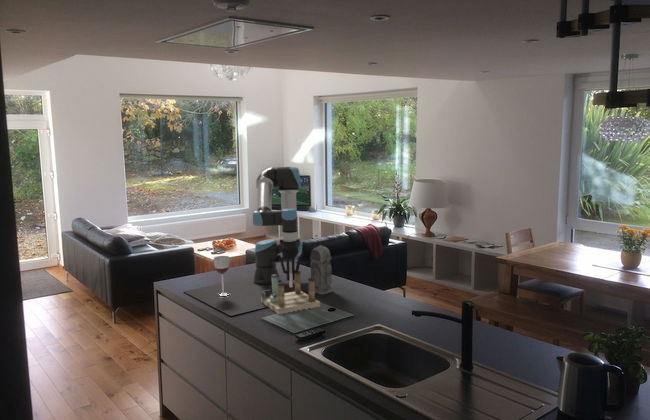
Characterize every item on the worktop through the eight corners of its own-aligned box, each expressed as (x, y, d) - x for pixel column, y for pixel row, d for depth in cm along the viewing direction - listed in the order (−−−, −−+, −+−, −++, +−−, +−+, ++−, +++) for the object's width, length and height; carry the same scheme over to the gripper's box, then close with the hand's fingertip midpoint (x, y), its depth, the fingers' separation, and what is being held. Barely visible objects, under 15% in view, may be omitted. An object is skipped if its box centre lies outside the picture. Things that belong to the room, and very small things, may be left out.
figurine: (323, 295, 282) (323, 248, 279) (306, 290, 293) (305, 244, 289) (337, 292, 289) (337, 245, 285) (320, 286, 299) (319, 241, 296)
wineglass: (232, 292, 290) (231, 255, 287) (228, 297, 282) (226, 259, 279) (218, 292, 291) (216, 255, 288) (213, 297, 282) (211, 259, 280)
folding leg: (279, 302, 263) (278, 280, 262) (270, 302, 263) (269, 280, 261) (279, 295, 275) (279, 274, 273) (271, 295, 275) (270, 274, 273)
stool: (261, 301, 274) (260, 275, 272) (300, 295, 284) (300, 269, 282) (278, 314, 255) (277, 285, 253) (320, 306, 265) (319, 279, 263)
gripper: (302, 238, 275) (303, 283, 278) (276, 239, 273) (277, 285, 276) (303, 240, 267) (304, 287, 270) (277, 242, 265) (278, 289, 268)
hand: (290, 286), depth 273 cm, fingers closed
